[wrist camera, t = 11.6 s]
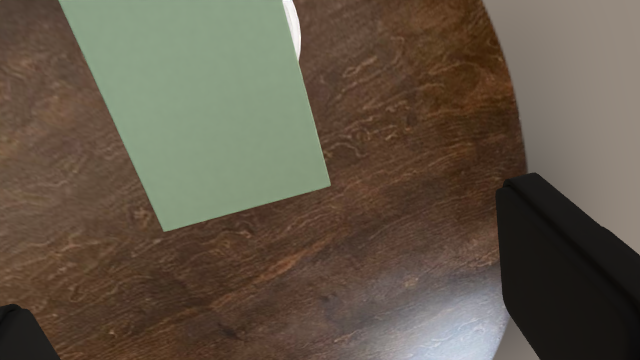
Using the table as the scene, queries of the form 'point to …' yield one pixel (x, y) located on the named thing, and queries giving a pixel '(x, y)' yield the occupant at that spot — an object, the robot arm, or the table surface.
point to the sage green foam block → (203, 101)
